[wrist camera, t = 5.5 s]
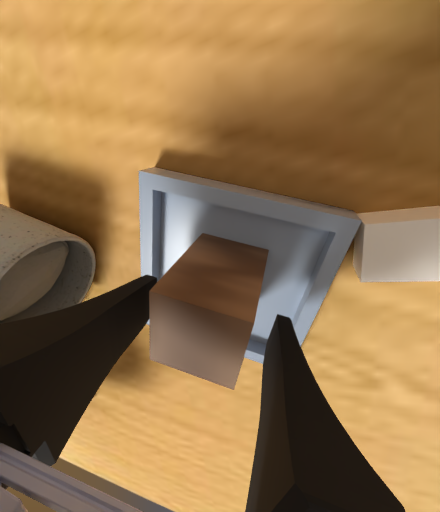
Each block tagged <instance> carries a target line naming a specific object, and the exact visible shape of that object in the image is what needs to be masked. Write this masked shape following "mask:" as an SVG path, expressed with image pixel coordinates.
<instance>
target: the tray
mask: <svg viewBox="0 0 440 512" xmlns="http://www.w3.org/2000/svg"><path fill="white" fill-rule="evenodd" d="M139 203H140V251H141V277H142V276H144V275H150V276H154V277H157V282H158V281H159V280H160V279H161V278H162V277H163V275H164V274H165V273H166V272H167V271H168V270H169V269H170V268H171V267H172V266H173V265H174V263H175V262H176V261H177V260H178V259H179V258H180V257H181V256H182V255H183V254H184V253H185V251H186V250H187V249H188V248H189V247H190V246H191V245H192V244H193V243H194V242H195V241H196V239H197V238H198V237H199V236H200V235H201V234H202V233H205V234H209V235H213V236H216V237H220V238H224V239H228V240H232V241H236V242H240V243H244V244H248V245H252V246H256V247H260V248H264V249H267V250H269V252H268V257H267V262H266V267H265V272H264V277H263V282H262V287H261V292H260V297H259V302H258V307H257V312H256V317H255V322H254V326H253V329H252V332H251V336H250V339H249V342H248V345H247V349H246V352H245V355H244V357H245V358H247V359H250V360H253V361H256V362H259V363H262V364H263V361H264V355H265V349H266V343H267V340H268V337H269V335H270V332H271V329H272V327H273V324H274V321H275V319H276V316H277V314H279V315H283V316H286V317H289V318H290V319H291V320H292V324H293V327H294V330H295V333H296V336H297V339H298V341H299V344H300V347H301V345H302V343H303V341H304V339H305V337H306V335H307V332H308V330H309V328H310V326H311V324H312V322H313V320H314V318H315V316H316V314H317V312H318V310H319V308H320V306H321V304H322V302H323V300H324V298H325V296H326V293H327V291H328V289H329V287H330V285H331V283H332V281H333V279H334V277H335V275H336V273H337V271H338V269H339V267H340V265H341V263H342V261H343V259H344V257H345V255H346V252H347V250H348V248H349V246H350V244H351V242H352V240H353V238H354V236H355V234H356V232H357V230H358V228H359V226H360V224H361V222H362V220H361V219H360V218H359V217H358V215H357V214H356V213H355V212H354V211H352V210H348V209H343V208H339V207H334V206H330V205H325V204H320V203H316V202H311V201H307V200H302V199H298V198H293V197H289V196H284V195H279V194H275V193H270V192H266V191H261V190H257V189H252V188H247V187H243V186H238V185H234V184H229V183H225V182H220V181H215V180H211V179H206V178H202V177H197V176H193V175H188V174H183V173H179V172H174V171H170V170H165V169H161V168H156V167H153V168H149V169H144V170H140V171H139ZM146 324H148V325H150V319H149V320H148V322H147V323H146Z"/></svg>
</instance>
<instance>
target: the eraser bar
mask: <svg viewBox="0 0 440 512" xmlns="http://www.w3.org/2000/svg"><path fill="white" fill-rule="evenodd" d="M357 215H358V217H359V218H360V219H361V220H362V222H361V224H360V226H359V228H358V230H357V232H356V234H355V236H354V254H353V267H354V269H355V271H356V273H357V275H358V278H359V280H360V282H410V281H440V205H439V206H429V207H419V208H408V209H398V210H388V211H377V212H367V213H357Z"/></svg>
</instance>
